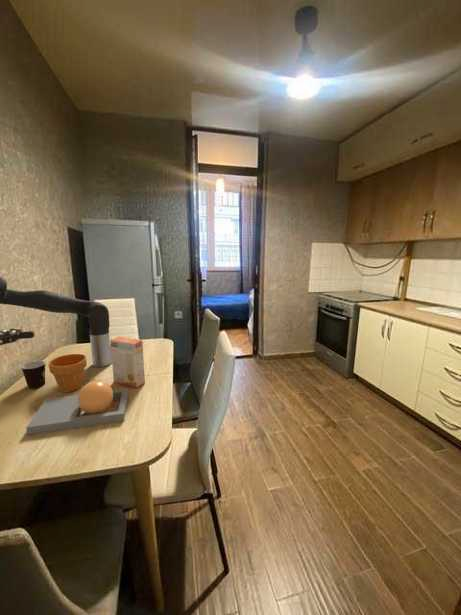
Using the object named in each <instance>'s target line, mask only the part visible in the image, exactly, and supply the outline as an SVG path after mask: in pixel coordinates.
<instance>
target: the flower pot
mask: <svg viewBox="0 0 461 615" xmlns="http://www.w3.org/2000/svg"><path fill="white" fill-rule="evenodd" d="M87 364H88V363H87V356H86V355H85V354H81V353H72V354H71V353H70V354H64V355H60V356H57V357H55V358H53V359H51V360H49V362H48V369H49V373H50V374H51V375H53V377H54V380H55V382H56V384H57V387H58V389H59V391H60V392H64V393H69V392H72V391H76V390H79V389H80V388H82V387H83V383H84V376H85V375H84V374H85V368H86V367H87Z"/></svg>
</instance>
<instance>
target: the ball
mask: <svg viewBox="0 0 461 615" xmlns="http://www.w3.org/2000/svg"><path fill="white" fill-rule="evenodd" d="M113 391H114V390H113V388H112V386H111V385H110V384H109V383H108V382H106V381H102V380H94V381H90V382H88V383H86V384H85V385H84V386H82V387H81V390H80V391H79V393H78V394H77V395H78V405H79V407H80V408H81V410H82V412H84V413H86V414H88V415H94V414H101V413H103V412H105V411H106V410H107V409H109V407H111V405H112V403H113Z"/></svg>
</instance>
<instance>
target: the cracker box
mask: <svg viewBox="0 0 461 615" xmlns="http://www.w3.org/2000/svg"><path fill="white" fill-rule="evenodd" d="M110 345H111V354H112V363H111V364H112V375H113V382H114V383H117V384H120V385H124V386H127V387H132V388H135V389H137V388H139V387H140V386H142V385H144V384H145V383H146V382H145V381H146V379H145V377H146V376H145V363H144V362H145V361H144V348H143V347H144V342H143V340H140V339H136V338H135V339H134V338H130V337H123V336H117V337H115V338H110Z"/></svg>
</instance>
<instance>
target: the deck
mask: <svg viewBox="0 0 461 615" xmlns="http://www.w3.org/2000/svg"><path fill="white" fill-rule="evenodd" d="M78 395H79V394H74V395H67V396H57V397H51V398H50V397H49V398H45V400H44V401H43V402H42V405H41V406H40V407H39V408H38V410H37V411H36V413H35V414H34V416H33V417H32V419H31V420H30V421H29V423H28V424H27V426H26V427H25V428H26V433H27V436H33V435H39V434H47V433H52V432H59V431H65V430H72V429H78V428H87V427H91V426H98V425H106V424H113V423H118V422H119V423H120V422H124V421H125V417H126V411H127V404H128V401H129V400H128V399H129V390H128V388H123V389H114V390H113V400H120V401H119V405H118V410H116V411H109V412H104V413H103V412H101V413H99V414H88V415H81V414H82V412H83V411H82V410H81V408H80V407H79V405H78ZM113 400H112V401H113Z"/></svg>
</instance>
